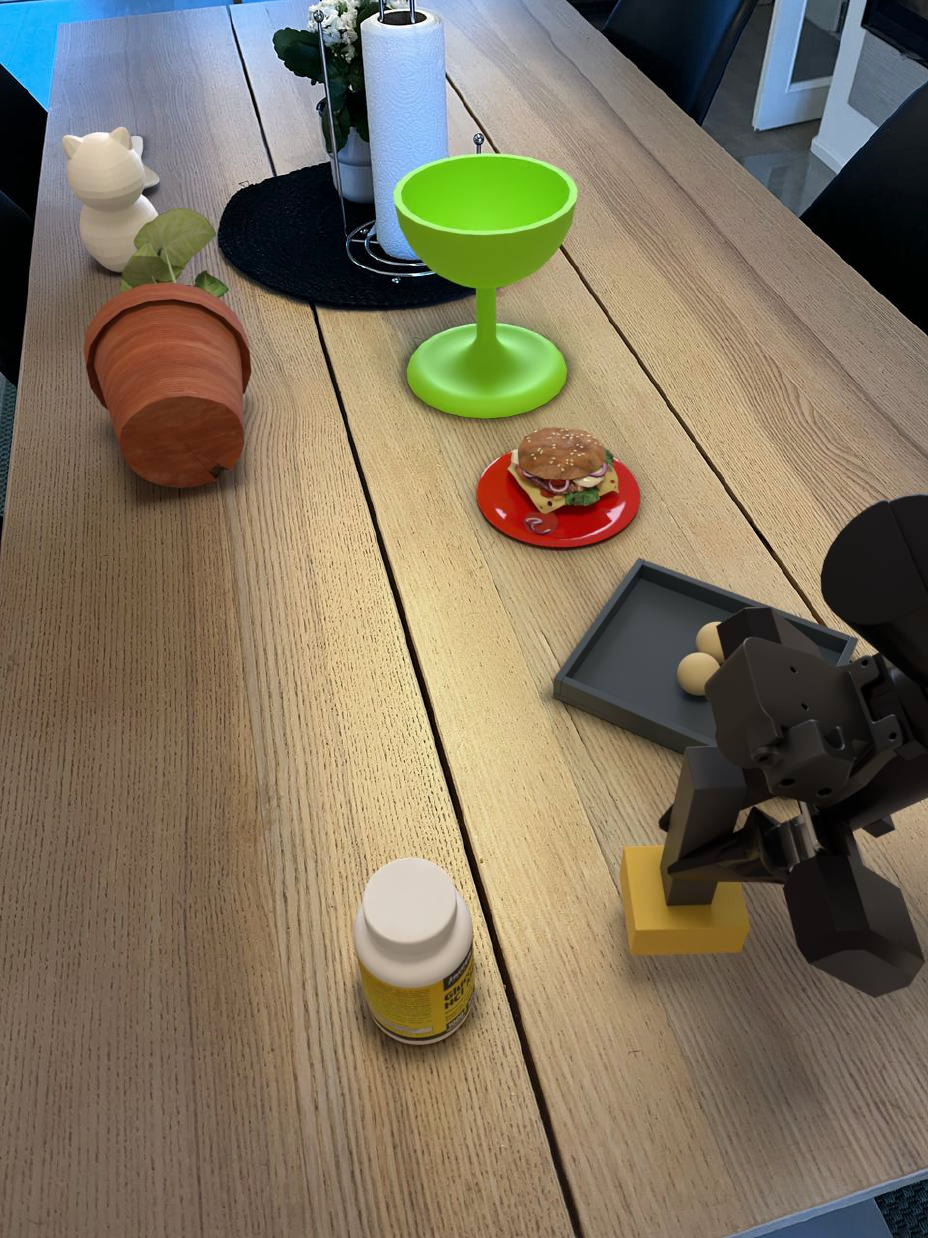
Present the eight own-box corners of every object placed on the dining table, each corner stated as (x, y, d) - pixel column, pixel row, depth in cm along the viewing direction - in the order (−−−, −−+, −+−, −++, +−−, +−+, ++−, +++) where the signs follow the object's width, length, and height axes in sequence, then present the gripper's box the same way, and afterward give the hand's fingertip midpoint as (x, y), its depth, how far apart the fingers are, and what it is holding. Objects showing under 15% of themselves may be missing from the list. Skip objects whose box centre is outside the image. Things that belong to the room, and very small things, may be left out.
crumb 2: (719, 676, 73) (726, 648, 71) (715, 708, 71) (721, 680, 69) (677, 668, 74) (683, 640, 71) (671, 699, 72) (677, 671, 69)
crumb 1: (737, 645, 75) (744, 617, 73) (732, 675, 73) (740, 647, 71) (695, 637, 76) (701, 609, 73) (690, 667, 74) (696, 639, 71)
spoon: (130, 200, 130) (127, 187, 129) (119, 139, 144) (116, 126, 142) (163, 195, 131) (160, 182, 129) (149, 135, 144) (146, 122, 143)
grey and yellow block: (723, 870, 59) (769, 721, 49) (741, 952, 55) (794, 811, 45) (619, 873, 59) (643, 725, 49) (630, 956, 55) (658, 815, 45)
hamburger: (451, 470, 91) (449, 414, 86) (590, 430, 94) (595, 374, 90) (519, 570, 82) (521, 513, 77) (670, 521, 85) (680, 464, 81)
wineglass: (549, 428, 95) (557, 243, 82) (385, 405, 98) (368, 224, 85) (580, 338, 105) (593, 161, 92) (432, 319, 108) (423, 146, 95)
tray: (851, 657, 75) (858, 638, 73) (786, 800, 66) (793, 781, 65) (635, 576, 81) (638, 557, 79) (552, 697, 73) (553, 678, 71)
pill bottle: (466, 1056, 56) (461, 968, 48) (356, 1039, 56) (332, 949, 48) (482, 949, 60) (480, 851, 52) (379, 935, 61) (361, 836, 53)
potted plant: (291, 496, 91) (235, 280, 113) (253, 357, 79) (199, 145, 100) (116, 538, 89) (92, 311, 111) (51, 402, 77) (38, 176, 98)
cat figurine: (95, 288, 115) (52, 152, 104) (85, 239, 123) (44, 108, 112) (175, 273, 117) (141, 138, 106) (160, 226, 125) (127, 96, 114)
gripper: (795, 475, 46) (546, 645, 55) (930, 832, 34) (578, 984, 42) (918, 591, 52) (675, 729, 60) (1073, 935, 39) (739, 1051, 47)
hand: (667, 851), depth 52 cm, fingers closed on grey and yellow block, 2 cm apart
